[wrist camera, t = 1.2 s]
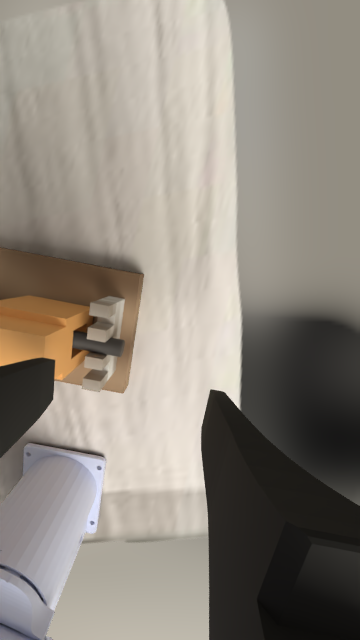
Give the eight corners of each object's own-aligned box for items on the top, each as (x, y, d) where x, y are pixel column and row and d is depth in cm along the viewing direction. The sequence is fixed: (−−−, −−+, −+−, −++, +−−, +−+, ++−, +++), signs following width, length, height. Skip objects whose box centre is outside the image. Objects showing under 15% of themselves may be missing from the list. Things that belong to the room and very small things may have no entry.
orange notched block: (89, 356, 18) (41, 397, 12) (27, 344, 18) (-49, 380, 12) (94, 307, 17) (45, 327, 12) (29, 295, 17) (-52, 308, 12)
